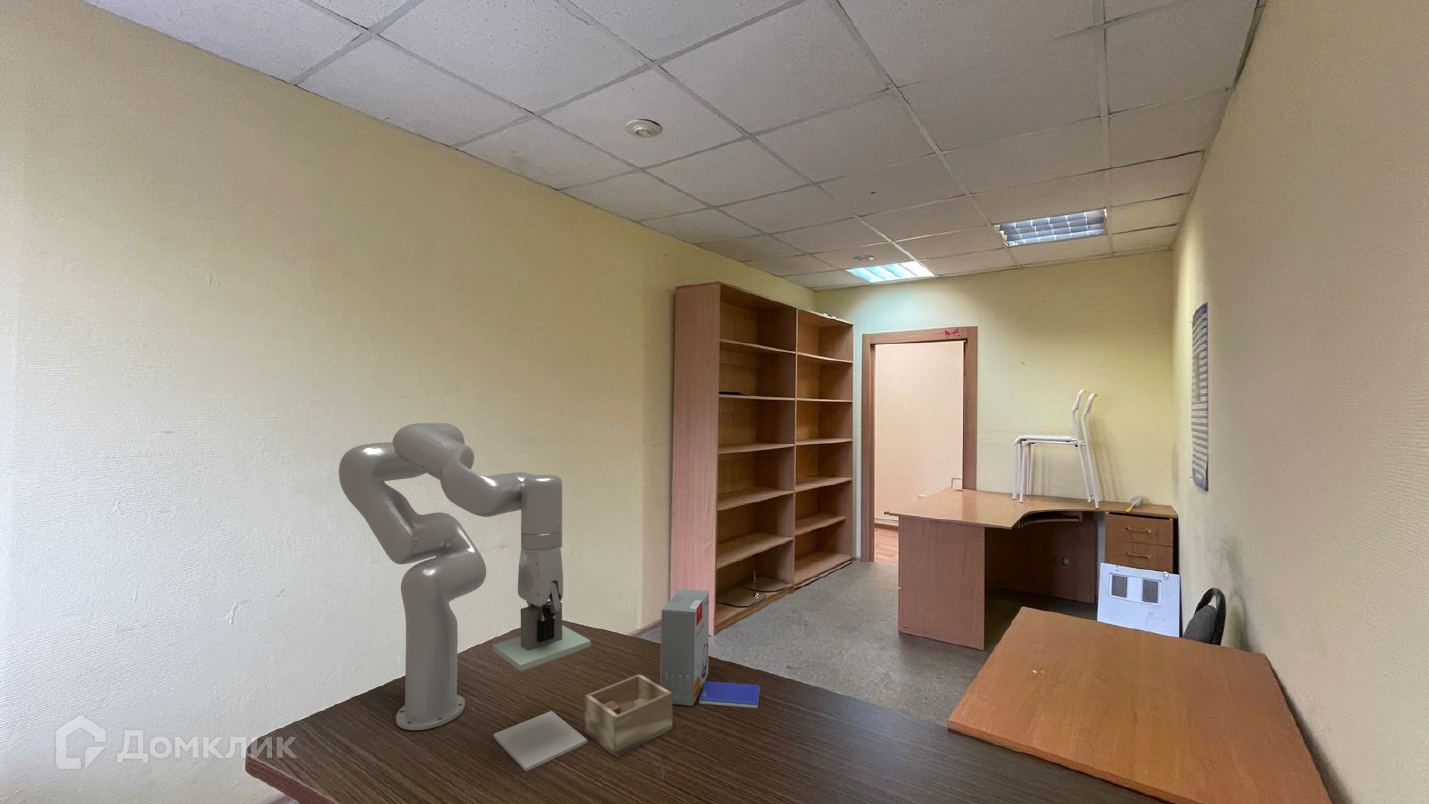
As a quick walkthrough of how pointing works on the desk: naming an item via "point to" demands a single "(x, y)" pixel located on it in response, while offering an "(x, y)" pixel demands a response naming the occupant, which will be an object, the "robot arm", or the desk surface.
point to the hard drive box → (685, 645)
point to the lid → (531, 652)
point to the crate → (628, 714)
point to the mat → (539, 740)
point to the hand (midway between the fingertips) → (541, 636)
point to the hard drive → (730, 694)
